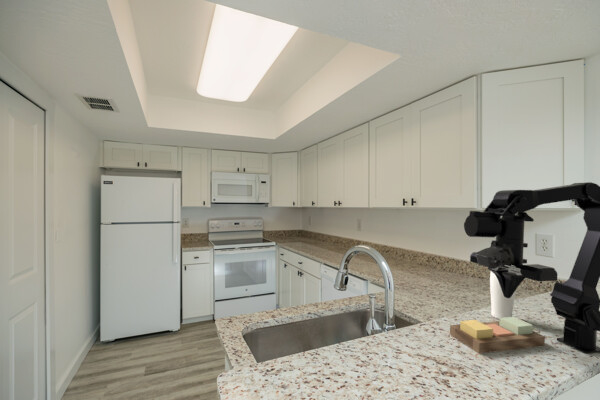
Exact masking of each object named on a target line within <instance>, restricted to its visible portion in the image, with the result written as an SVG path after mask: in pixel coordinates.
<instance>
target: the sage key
mask: <svg viewBox="0 0 600 400" xmlns="http://www.w3.org/2000/svg"><path fill="white" fill-rule="evenodd" d="M498 321H499V326H501V327H503V328H505V329H507V330H509V331H511V332H513V333H515V334H517V335H523V334H533V331H534V325H533V324H531V323H528V322H526V321H524V320H522V319H520V318H517V317H515V316H512V317H505V318H500V319H499V320H498Z"/></svg>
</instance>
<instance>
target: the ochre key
mask: <svg viewBox="0 0 600 400" xmlns="http://www.w3.org/2000/svg"><path fill="white" fill-rule="evenodd" d="M460 329H461V330H462V331H464V332H466V333H467V334H469V335H471V336H472V337H474V338H475V339H483V338H493V329H492V328H490V327H489V326H487V325H485V324H483V322H480V321H479V320H477V319H471V320H470V319H469V320H460Z"/></svg>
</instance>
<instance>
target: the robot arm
mask: <svg viewBox="0 0 600 400" xmlns="http://www.w3.org/2000/svg"><path fill="white" fill-rule="evenodd" d="M573 200H574V202H575V204H576V206H577V207H578V208H579V209H581V210H582V211H583V212H584V213H583V221H584V223H585V226H586V232H585V235H584V238H583V240H582V243H581V246H580V249H579V251H578V253H577V257H576V259H575V261H574V264H573V267H572V270H571V272H570V275H569V278H568V279H567V280H565V281H563V282H559V281H558V272H557V270H556V269H555V268H554V267H551V266H547V265H542V264H538V263H535V264H534V263H533V264H528V259H526V258H524V248H528V246H529V245H528V243H527V242H524V241H525V240H524V239H525V238H524V237H525V222H534V220H535V219H534V218H532V217H531V216H530V215H529V214H528V213H527V211H531V210H535V209H536V208H537V207H539V206H542V205H545V204H546V205H547V204H551V203H553V204H554V203H560V202H561V203H562V202H568V201H573ZM463 228H464V232H465V234H466V235H467V236H468V237H470V238H471V237H472V238H495V240H491V242H490V246H489V247H486V248H483V249H480V250H479V251H473V252H472V253H471V254H470V256H469V262H470V263H473V264H477V265H478V266H481V267H482V266H483V267H486V268H487V270H488V271H490V272H491V271H492V272H493V273H494V274H495V275H496V277H497V279H498V281H499V284H500V287H501V289H502V292H503V295H504V297H506V298H510V297H511V296H512V295H513V293H514V292H515V290H516V291H517V289H518V287H519V286H520V284H522V282H523V281H524V280H525V279H529V280H532V281H535V282H553V281H556V282H555V283H554V285H553V289H552V292H551V293H550V294H549V296H550V297H551V299H550V303H551V304H552V306H553V308H554V310H555V311H554V312H555V313H556V316H559V317H562V318H564V321H563V322H564V323H563V324H564V325H563V336H562V337H556V341H558V342H560V343H562V344H565V345H567V346H569V347H571V348H573V349H574V350H575V349H576V351H577V350H578V351H580V352H582V353H584V354H594V353H600V346H597V340H598V339H597V338H598V337H597V336H598V332H600V297H599V294H598V291H597V286H598V284H599V281H600V185H599V184H597V183H595V182H591V181H590V182H589V181H588V182H574V183H572V184H567V185H566V184H565V185H559V186H553V187H546V188H540V189H539V188H538V189H507V190H505V189H504V190H499V191H497V192H495V194H494V196H493V198H492V200H491V201H490V202H489V204H488V205H487V206H486V208H484V210H483V211H479V210H470V211H469V215H468V216H467V217H466V218H465V221H464V223H463Z"/></svg>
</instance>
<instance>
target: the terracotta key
mask: <svg viewBox="0 0 600 400" xmlns="http://www.w3.org/2000/svg"><path fill="white" fill-rule="evenodd" d="M487 326H489V327H490V328H492V329H493V335H495V336H497V337H503V336H513V333H512V332H510V331H508V330H506V329H504V328H502V327H500V326H498V325H496V324H488V325H487Z"/></svg>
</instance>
